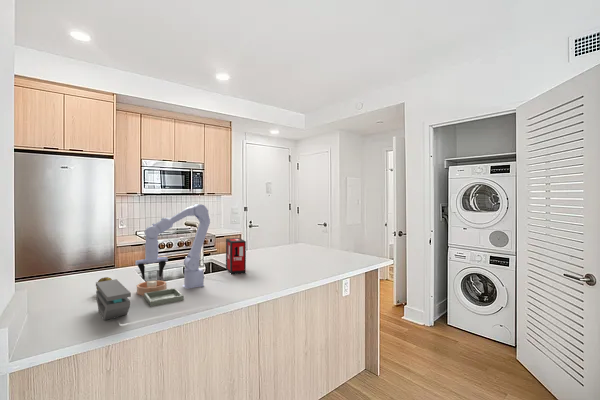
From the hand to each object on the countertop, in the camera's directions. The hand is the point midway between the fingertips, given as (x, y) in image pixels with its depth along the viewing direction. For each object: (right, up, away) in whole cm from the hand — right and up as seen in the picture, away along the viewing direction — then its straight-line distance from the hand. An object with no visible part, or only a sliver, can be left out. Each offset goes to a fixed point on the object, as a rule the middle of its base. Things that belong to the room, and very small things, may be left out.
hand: (152, 277), depth 154 cm
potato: (-20, -8, -5) cm, 22 cm away
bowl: (0, -8, 0) cm, 8 cm away
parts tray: (+11, -8, -11) cm, 17 cm away
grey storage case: (-3, -8, -27) cm, 29 cm away
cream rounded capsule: (0, -7, 0) cm, 7 cm away
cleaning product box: (+32, -7, +44) cm, 56 cm away
